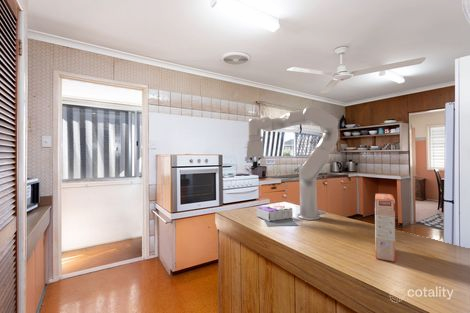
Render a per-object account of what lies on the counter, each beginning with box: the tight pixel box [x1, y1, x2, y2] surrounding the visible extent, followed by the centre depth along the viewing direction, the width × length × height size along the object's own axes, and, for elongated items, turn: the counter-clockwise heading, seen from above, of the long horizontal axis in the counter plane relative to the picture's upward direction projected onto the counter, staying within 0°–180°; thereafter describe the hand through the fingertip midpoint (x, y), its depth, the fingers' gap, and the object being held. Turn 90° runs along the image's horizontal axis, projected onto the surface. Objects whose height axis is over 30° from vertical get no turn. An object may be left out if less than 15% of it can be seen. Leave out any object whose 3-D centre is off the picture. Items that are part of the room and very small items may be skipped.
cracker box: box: [374, 193, 396, 263], centre depth 84 cm, size 14×6×21 cm, turn 148°
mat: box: [263, 218, 299, 227], centre depth 131 cm, size 16×24×1 cm, turn 0°
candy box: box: [256, 203, 293, 221], centre depth 136 cm, size 14×6×16 cm
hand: (255, 168), depth 144 cm, fingers closed
